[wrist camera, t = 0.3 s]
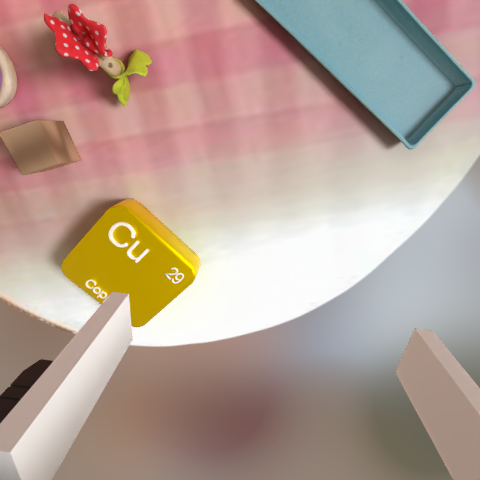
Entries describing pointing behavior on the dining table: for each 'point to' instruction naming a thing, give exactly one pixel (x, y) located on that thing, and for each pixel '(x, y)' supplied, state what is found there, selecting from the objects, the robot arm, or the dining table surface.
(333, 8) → the rectangular tray
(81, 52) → the bird rattle
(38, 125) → the walnut cube
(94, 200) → the dining table surface
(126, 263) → the element tile
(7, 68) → the stacking toy
